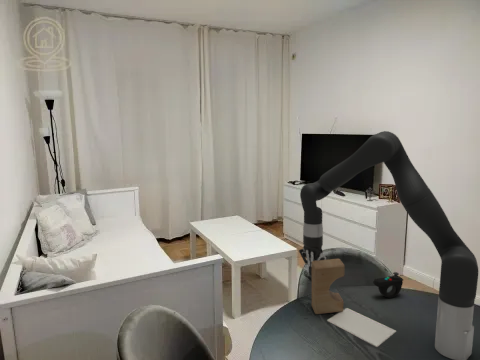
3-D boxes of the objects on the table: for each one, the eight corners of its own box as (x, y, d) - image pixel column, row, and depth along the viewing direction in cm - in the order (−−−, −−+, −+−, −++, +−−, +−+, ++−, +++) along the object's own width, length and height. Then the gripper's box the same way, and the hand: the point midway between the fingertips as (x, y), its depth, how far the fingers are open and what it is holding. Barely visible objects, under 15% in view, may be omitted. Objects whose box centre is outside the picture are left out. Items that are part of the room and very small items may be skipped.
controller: (404, 297, 140) (405, 274, 138) (377, 301, 137) (378, 278, 136) (397, 292, 144) (398, 270, 142) (371, 296, 142) (372, 273, 140)
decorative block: (338, 303, 135) (339, 257, 129) (343, 312, 129) (345, 265, 124) (311, 305, 134) (311, 260, 129) (315, 315, 129) (315, 268, 123)
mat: (396, 331, 117) (396, 330, 117) (377, 347, 110) (377, 346, 110) (347, 308, 132) (347, 307, 132) (327, 321, 125) (327, 320, 125)
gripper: (333, 235, 130) (332, 277, 133) (306, 227, 140) (305, 267, 143) (320, 239, 125) (320, 283, 128) (293, 231, 136) (293, 272, 138)
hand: (312, 275), depth 136 cm, fingers closed
